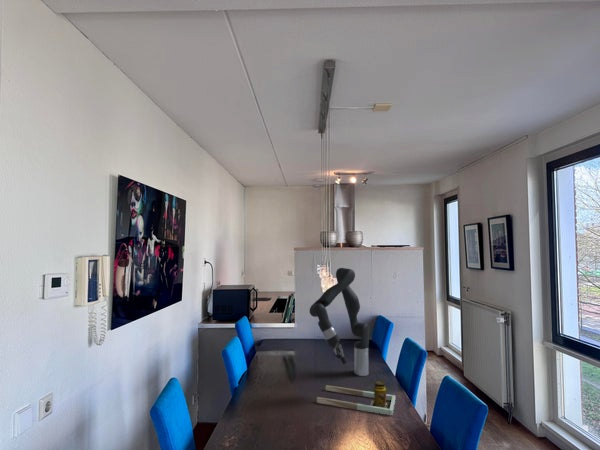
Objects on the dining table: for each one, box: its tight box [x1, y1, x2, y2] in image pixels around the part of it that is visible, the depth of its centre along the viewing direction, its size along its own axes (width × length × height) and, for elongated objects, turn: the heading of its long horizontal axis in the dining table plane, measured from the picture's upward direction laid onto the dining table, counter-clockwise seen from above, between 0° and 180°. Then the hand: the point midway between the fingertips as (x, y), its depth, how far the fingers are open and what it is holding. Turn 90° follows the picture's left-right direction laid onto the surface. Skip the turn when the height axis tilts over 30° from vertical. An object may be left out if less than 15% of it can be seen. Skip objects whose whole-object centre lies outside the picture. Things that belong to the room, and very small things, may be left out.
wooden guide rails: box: [316, 384, 364, 410], centre depth 188 cm, size 18×22×2 cm
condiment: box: [369, 380, 388, 408], centre depth 181 cm, size 7×8×12 cm
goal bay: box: [357, 390, 397, 416], centre depth 181 cm, size 18×18×2 cm
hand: (345, 363), depth 194 cm, fingers closed
